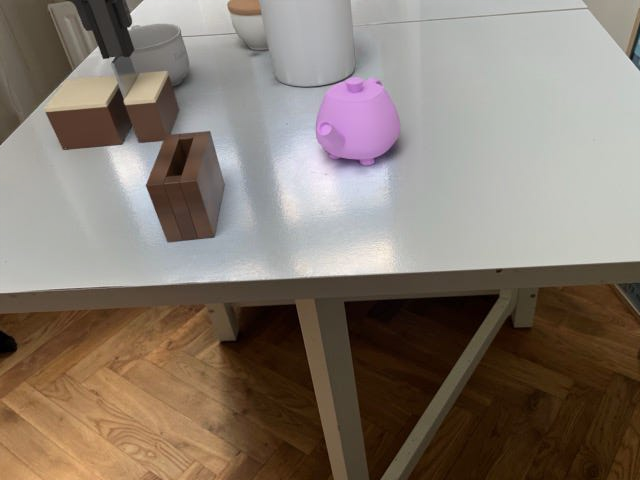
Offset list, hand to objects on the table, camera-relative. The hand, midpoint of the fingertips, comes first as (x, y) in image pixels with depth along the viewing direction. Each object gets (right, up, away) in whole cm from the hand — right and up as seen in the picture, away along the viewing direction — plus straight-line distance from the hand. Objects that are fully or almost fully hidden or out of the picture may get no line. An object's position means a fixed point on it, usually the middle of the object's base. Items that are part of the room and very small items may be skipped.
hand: (118, 54), depth 73 cm
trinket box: (+13, +15, +32) cm, 37 cm away
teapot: (+32, -14, -2) cm, 35 cm away
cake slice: (+3, -7, +7) cm, 11 cm away
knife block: (+14, -22, -10) cm, 28 cm away
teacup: (-3, +4, +20) cm, 21 cm away
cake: (-6, -8, +7) cm, 12 cm away
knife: (0, -7, +6) cm, 9 cm away
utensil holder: (+23, +5, +20) cm, 31 cm away
